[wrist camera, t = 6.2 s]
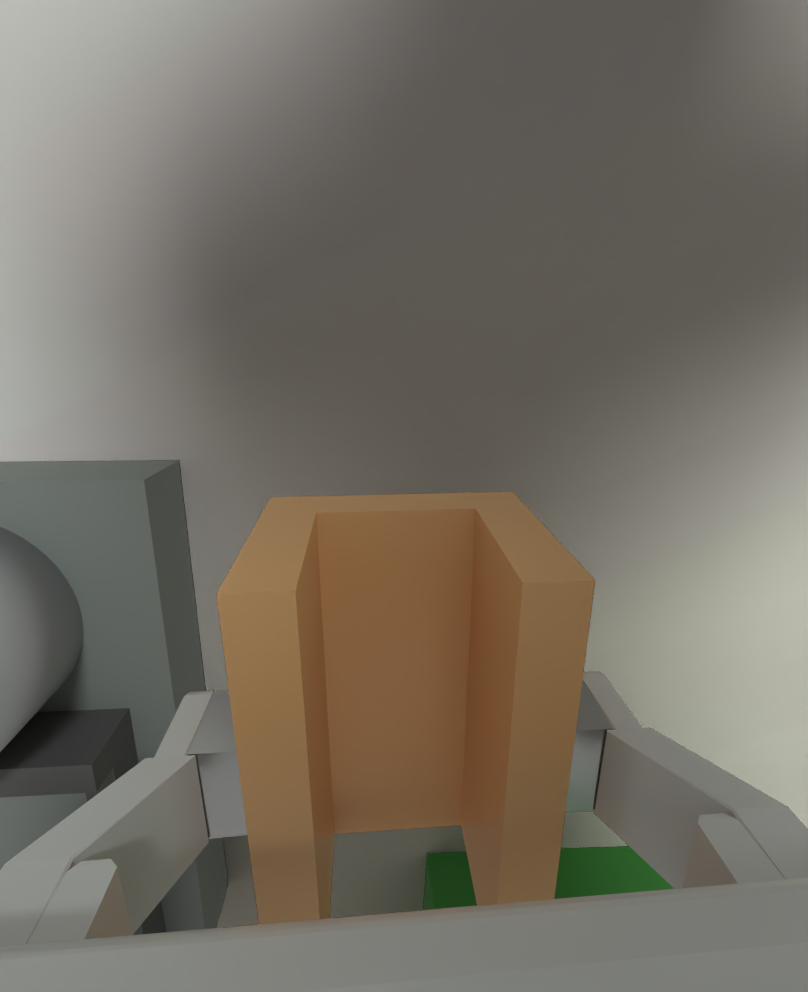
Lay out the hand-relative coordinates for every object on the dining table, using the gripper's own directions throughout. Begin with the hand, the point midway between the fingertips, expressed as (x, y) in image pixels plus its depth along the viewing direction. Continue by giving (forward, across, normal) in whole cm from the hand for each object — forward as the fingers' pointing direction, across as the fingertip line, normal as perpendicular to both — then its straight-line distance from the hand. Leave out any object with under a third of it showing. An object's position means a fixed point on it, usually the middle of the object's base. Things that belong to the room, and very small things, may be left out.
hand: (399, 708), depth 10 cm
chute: (+2, 0, 0) cm, 2 cm away
